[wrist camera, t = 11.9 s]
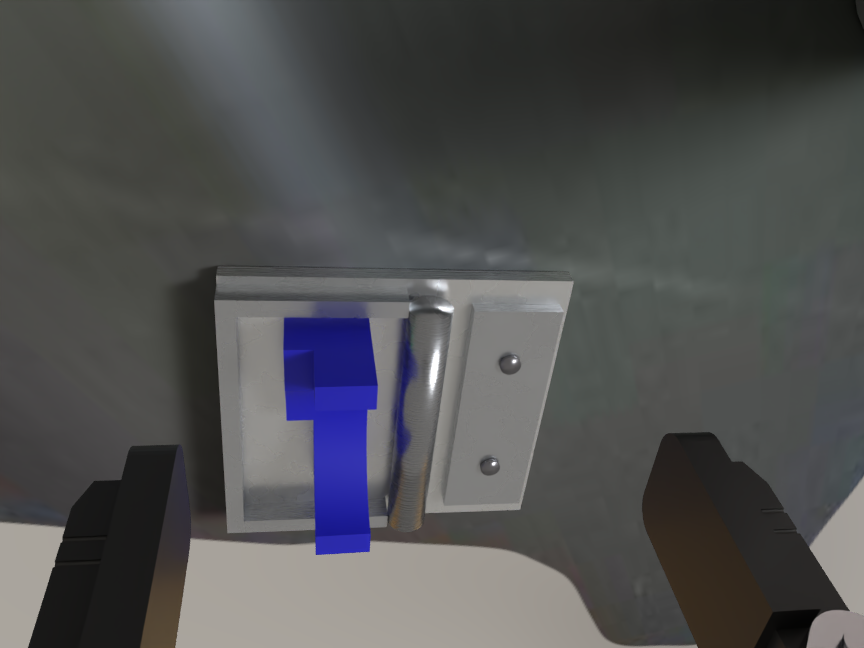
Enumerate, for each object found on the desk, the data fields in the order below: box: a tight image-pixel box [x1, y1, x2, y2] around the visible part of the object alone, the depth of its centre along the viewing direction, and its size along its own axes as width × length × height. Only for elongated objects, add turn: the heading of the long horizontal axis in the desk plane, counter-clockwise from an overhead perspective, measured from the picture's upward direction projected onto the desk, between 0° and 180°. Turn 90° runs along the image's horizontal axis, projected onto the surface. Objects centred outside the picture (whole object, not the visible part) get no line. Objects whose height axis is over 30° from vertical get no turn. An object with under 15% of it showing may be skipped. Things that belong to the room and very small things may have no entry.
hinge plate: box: [214, 266, 574, 533], centre depth 47 cm, size 19×18×3 cm
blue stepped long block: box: [283, 317, 378, 555], centre depth 44 cm, size 12×4×6 cm, turn 176°
